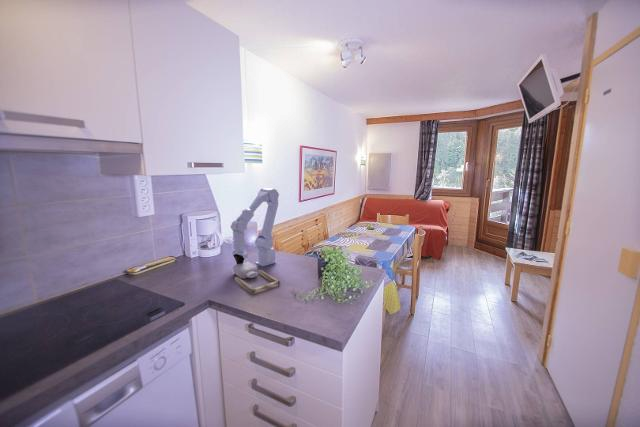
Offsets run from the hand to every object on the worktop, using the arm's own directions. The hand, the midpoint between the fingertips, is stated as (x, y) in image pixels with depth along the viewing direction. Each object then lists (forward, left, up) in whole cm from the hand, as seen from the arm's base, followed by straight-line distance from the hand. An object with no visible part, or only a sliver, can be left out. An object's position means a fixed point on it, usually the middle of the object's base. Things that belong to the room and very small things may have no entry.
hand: (239, 266), depth 140 cm
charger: (0, +9, -3) cm, 9 cm away
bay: (0, +18, -2) cm, 18 cm away
